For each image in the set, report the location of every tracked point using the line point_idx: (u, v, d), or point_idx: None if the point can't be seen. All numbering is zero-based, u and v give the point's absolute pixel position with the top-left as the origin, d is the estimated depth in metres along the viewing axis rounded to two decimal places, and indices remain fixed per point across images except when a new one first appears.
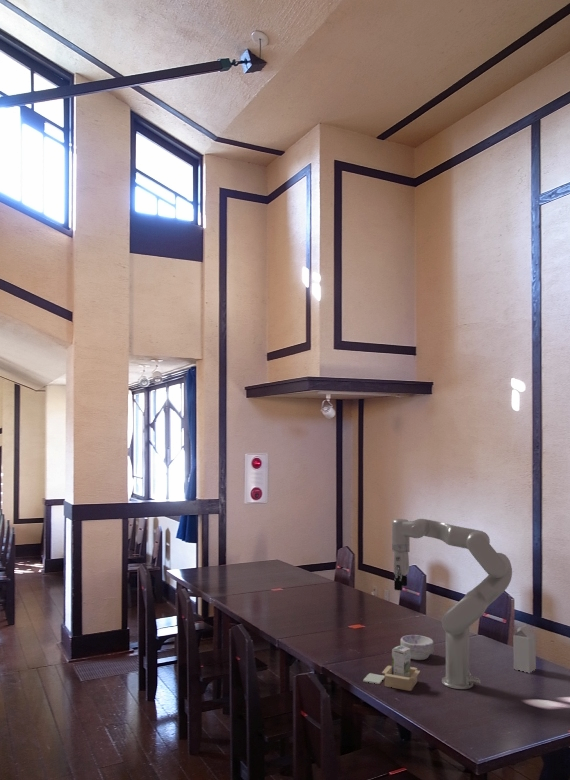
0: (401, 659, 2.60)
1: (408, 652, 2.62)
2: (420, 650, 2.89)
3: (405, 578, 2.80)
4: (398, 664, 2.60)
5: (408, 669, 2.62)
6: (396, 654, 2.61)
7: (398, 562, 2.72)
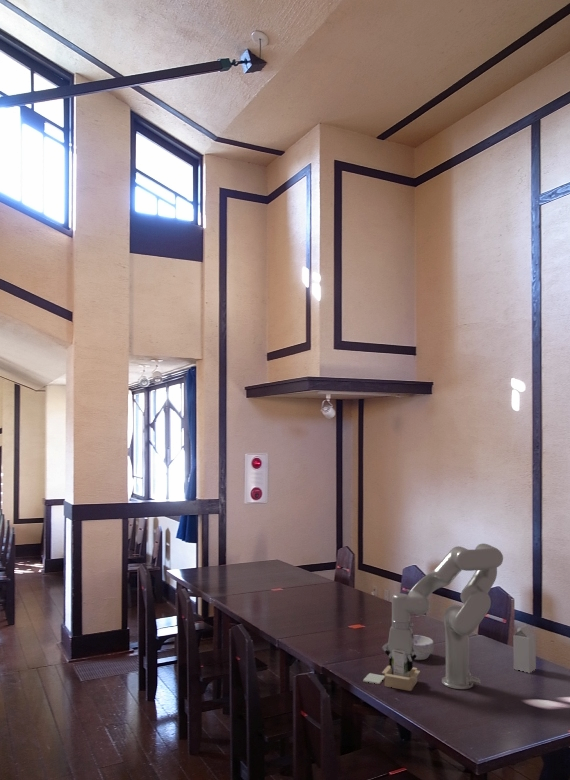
0: (401, 658, 2.60)
1: None
2: (420, 650, 2.89)
3: None
4: (397, 664, 2.60)
5: None
6: (396, 654, 2.61)
7: (412, 639, 2.62)
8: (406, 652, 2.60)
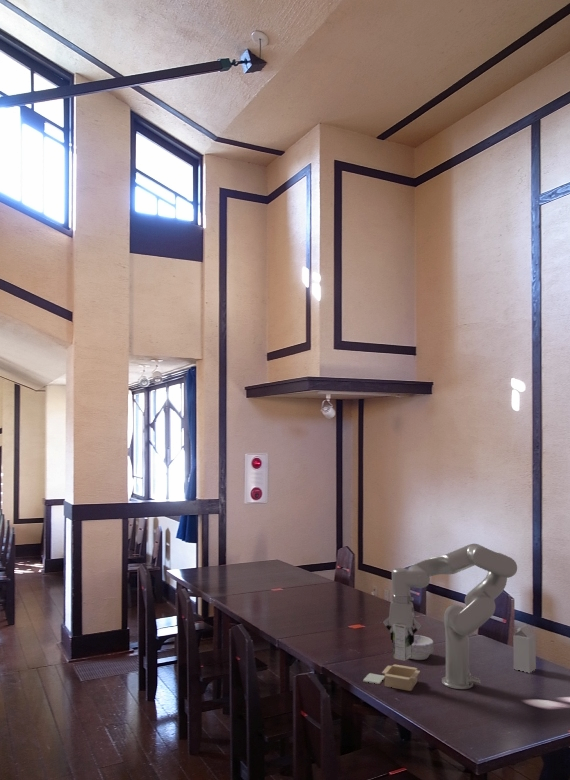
0: (402, 632, 2.61)
1: None
2: (420, 650, 2.89)
3: None
4: (399, 638, 2.61)
5: None
6: (397, 628, 2.62)
7: (413, 613, 2.62)
8: (407, 626, 2.61)
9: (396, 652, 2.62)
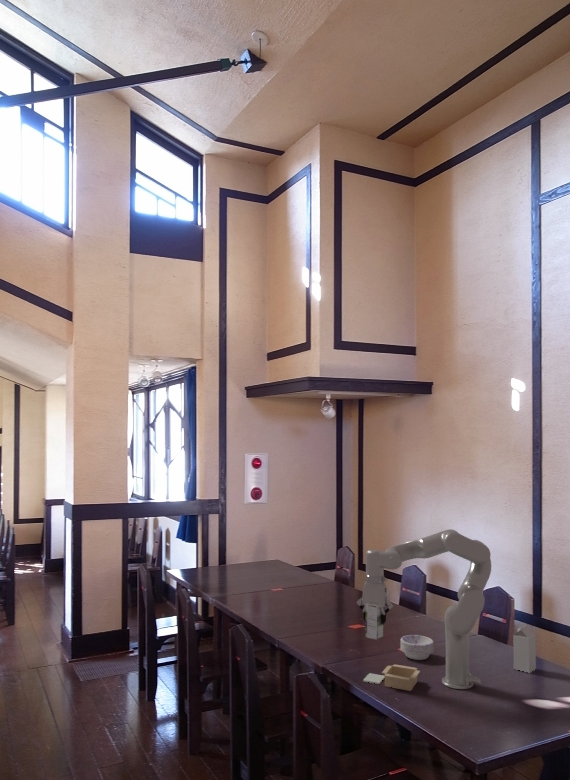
0: (374, 612, 2.66)
1: None
2: (420, 650, 2.89)
3: None
4: (371, 617, 2.67)
5: None
6: (369, 608, 2.67)
7: (386, 593, 2.68)
8: (379, 606, 2.66)
9: (368, 631, 2.67)
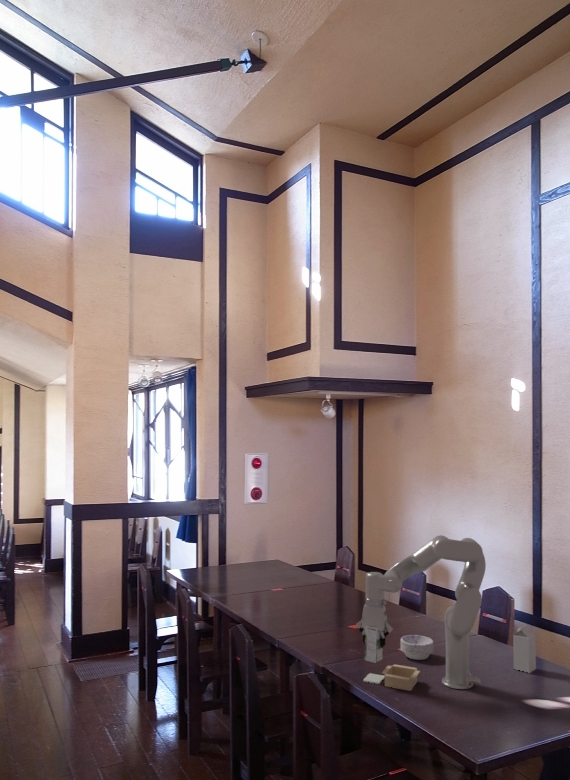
0: (374, 635, 2.65)
1: None
2: (420, 650, 2.89)
3: None
4: (370, 641, 2.66)
5: None
6: (369, 631, 2.67)
7: (385, 617, 2.67)
8: (379, 629, 2.66)
9: (368, 654, 2.66)
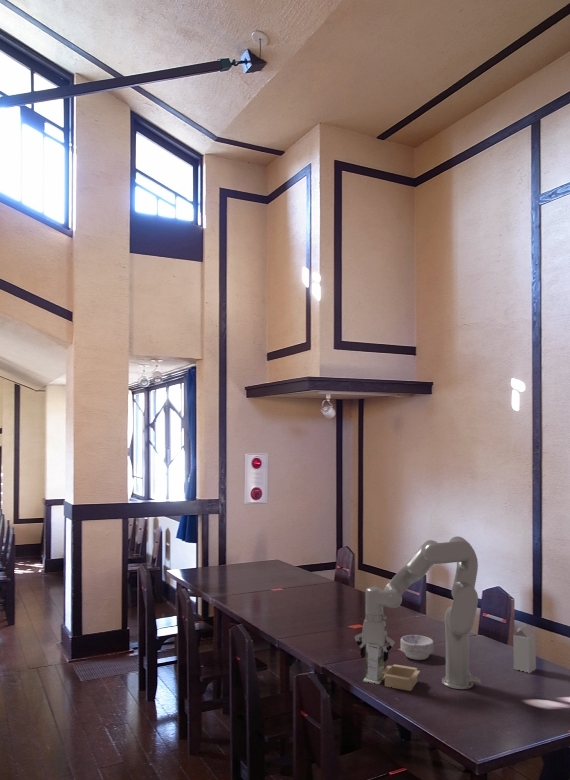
0: (375, 653, 2.64)
1: None
2: (420, 650, 2.89)
3: (364, 648, 2.71)
4: (372, 658, 2.65)
5: (382, 663, 2.66)
6: (370, 648, 2.66)
7: (385, 632, 2.66)
8: (379, 644, 2.65)
9: (369, 672, 2.65)
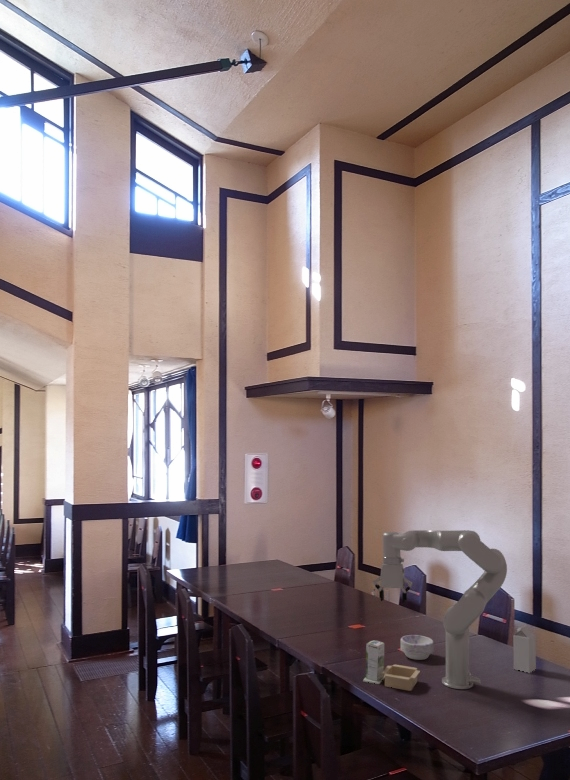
0: (375, 653, 2.64)
1: (382, 646, 2.67)
2: (420, 650, 2.89)
3: (383, 592, 2.78)
4: (372, 658, 2.65)
5: (382, 663, 2.66)
6: (370, 648, 2.66)
7: (403, 574, 2.75)
8: (398, 586, 2.73)
9: (369, 672, 2.65)
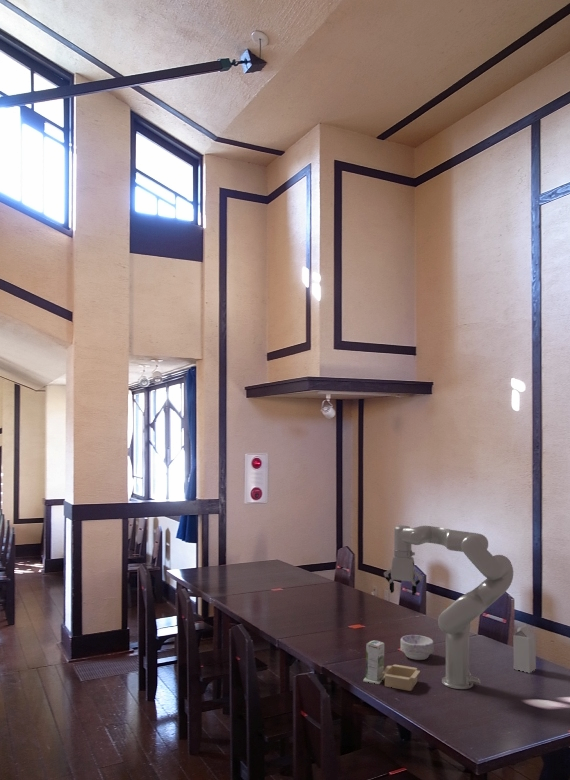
0: (375, 653, 2.64)
1: (382, 646, 2.67)
2: (420, 650, 2.89)
3: (393, 584, 2.83)
4: (372, 658, 2.65)
5: (382, 663, 2.66)
6: (370, 648, 2.66)
7: (414, 567, 2.79)
8: (408, 579, 2.77)
9: (369, 672, 2.65)
